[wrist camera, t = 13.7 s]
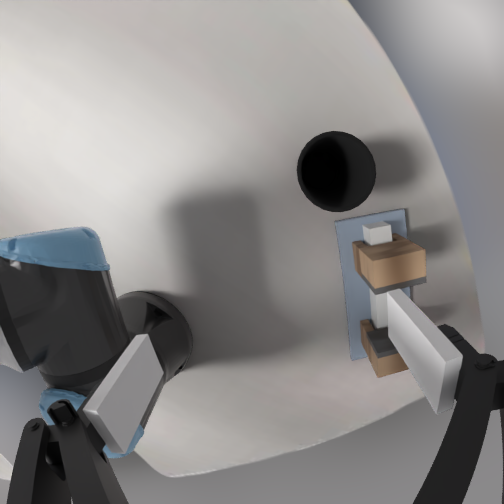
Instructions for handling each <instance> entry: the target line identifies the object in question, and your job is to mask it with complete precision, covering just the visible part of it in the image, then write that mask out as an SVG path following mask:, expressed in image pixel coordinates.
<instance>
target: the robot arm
mask: <svg viewBox="0 0 504 504" xmlns="http://www.w3.org/2000/svg"><path fill="white" fill-rule="evenodd" d="M109 270H110V266H109V264H107V261H106V258H105V255H104V252H103V248H102V245H101V242H100V238H99V236H98V235H97V233H96V232H95V231H94V230H92V229H90V228H88V227H73V228H64V229H57V230H50V231H43V232H36V233H30V234H24V235H19V236H14V237H9V238H4V239H0V365H1V364H2V365H7V366H9V367H11V368H13V369H15V370H17V371H19V372H24V371H26V370H29V369H31V368H33V367H36V366H37V367H38V369H39V371H40V373H41V375H42V377H43V379H44V381H45V383H46V385H47V389H46V390H44V391H43V392H42V393H41V398H40V403H39V408H40V411H41V414H42V415H43V417H44V419H45V420H46V422H47V423H48V424H49V425H48V426H47V424H46V423H45V421H44V420H43V419H42V418H35V419H31V420H30V421H28V423H27V424H26V425H25V427H24V429H23V433H22V436H21V440H20V443H19V448H18V451H17V455H16V460H15V463H14V468H13V472H12V477H11V483H10V487H9V493H8V499H7V504H71V497H72V501H73V504H128V501H127V499H126V497H125V495H124V493H123V491H122V489H121V487H120V485H119V483H118V481H117V478H116V476H115V474H114V472H113V469H112V467H111V465H110V463H109V460H108V458H119V457H124V456H126V455H128V454H129V453H131V452H132V451H133V450H134V448H135V446H136V444H137V443H138V441H139V439H140V438H141V437H142V436H143V434H144V429H145V426H146V424H147V422H148V419H149V417H150V415H151V413H152V410H153V408H154V406H155V404H156V401H157V399H158V397H159V395H160V393H161V390H162V388H163V386H164V384H165V383H167V382H168V381H169V380H170V379H172V378H173V377H174V376H175V375H177V374H178V373H179V372H180V371H181V370H182V369H183V368H184V366H185V365H186V363H187V361H188V359H189V356H190V354H191V350H192V335H191V331H190V328H189V326H188V324H187V322H186V320H185V319H184V317H183V316H182V314H181V313H180V312H179V311H178V310H177V309H176V308H175V307H174V306H173V305H172V304H170V303H169V302H168V301H166V300H164V299H163V298H161V297H159V296H156V295H154V294H150V293H146V292H131V293H127V294H124V295H122V296H120V297H118V298H116V294H115V291H114V287H113V284H112V280H111V276H110V272H109ZM387 307H388V336H389V338H390V340H391V341H392V343H393V344H394V346H395V347H396V349H397V351H398V352H399V354H400V355H401V357H402V358H403V360H404V362H405V363H406V365H407V366H408V368H409V370H410V371H411V373H412V375H413V376H414V378H415V380H416V381H417V383H418V385H419V386H420V388H421V390H422V391H423V393H424V395H425V396H426V398H427V399H428V401H429V403H430V405H431V407H432V408H433V410H434V412H435V413H436V415H437V414H440V413H442V412H445V411H447V410H450V409H452V407H453V403H454V399H456V401H457V403H456V406H455V409H454V412H453V415H452V418H451V421H450V423H449V426H448V429H447V431H446V434H445V436H444V439H443V441H442V444H441V446H440V449H439V451H438V454H437V456H436V458H435V460H434V462H433V465H432V467H431V469H430V471H429V473H428V475H427V477H426V479H425V481H424V483H423V486H422V488H421V489H420V491H419V493H418V495H417V497H416V499H415V500H414V502H413V504H462V502H463V500H464V498H465V495H466V492H467V490H468V487H469V484H470V481H471V479H472V476H473V473H474V471H475V468H476V464H477V461H478V458H479V455H480V452H481V448H482V445H483V441H484V437H485V434H486V430H487V425H488V421H489V417H490V412H491V411H492V410H498V409H500V416H501V427H502V443H503V493H502V504H504V360H503V361H497V359H496V358H495V357H493V356H491V355H489V354H479V353H478V352H477V351H476V350H475V349H474V348H473V347H472V346H471V345H470V344H469V343H468V342H467V341H466V340H464V338H463V337H462V336H461V335H460V334H459V333H458V332H457V331H456V330H455V329H454V328H453V327H451V326H448V325H446V324H444V325H441V326H438V327H437V326H436V325H435V324H434V323H433V322H432V321H431V320H430V319H429V318H428V317H427V316H426V315H425V314H424V313H423V312H422V311H421V310H420V309H419V308H418V307H417V305H416V304H415V303H414V302H413V301H412V300H411V299H410V298H409V297H408V296H407V295H406V294H405V293H404V292H403V291H402V290H401V289H396V290H392V291H388V292H387Z"/></svg>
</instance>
